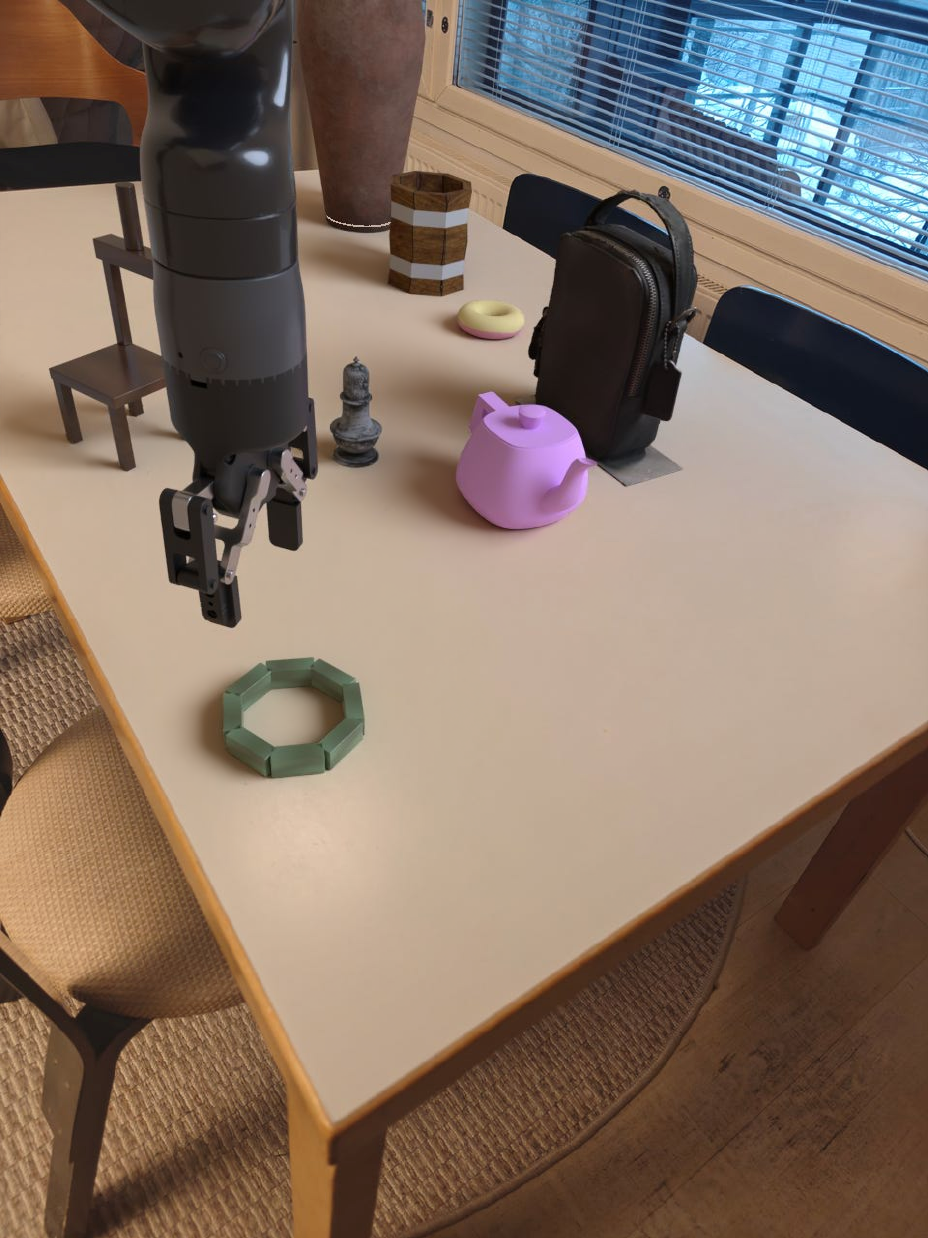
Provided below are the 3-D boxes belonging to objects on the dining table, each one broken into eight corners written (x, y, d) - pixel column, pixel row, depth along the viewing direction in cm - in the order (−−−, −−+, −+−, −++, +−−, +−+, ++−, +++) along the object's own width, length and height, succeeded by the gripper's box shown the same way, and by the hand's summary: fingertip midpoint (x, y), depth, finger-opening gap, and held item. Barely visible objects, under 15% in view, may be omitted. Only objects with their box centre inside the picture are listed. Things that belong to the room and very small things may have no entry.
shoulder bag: (683, 469, 103) (755, 223, 85) (626, 486, 99) (689, 232, 81) (568, 389, 117) (608, 162, 99) (514, 401, 113) (545, 167, 94)
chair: (127, 472, 92) (77, 216, 75) (65, 440, 96) (4, 189, 79) (201, 435, 99) (170, 193, 82) (141, 407, 103) (100, 170, 86)
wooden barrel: (479, 293, 141) (489, 194, 131) (402, 299, 136) (406, 197, 126) (434, 252, 154) (440, 159, 144) (362, 256, 149) (363, 160, 139)
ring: (300, 799, 62) (299, 782, 61) (195, 732, 66) (192, 714, 65) (389, 714, 69) (389, 697, 68) (289, 657, 73) (288, 640, 72)
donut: (518, 357, 128) (518, 323, 134) (527, 330, 125) (527, 297, 131) (453, 341, 127) (456, 308, 133) (460, 313, 123) (463, 280, 129)
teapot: (525, 571, 85) (541, 475, 78) (423, 473, 97) (429, 381, 90) (626, 537, 91) (650, 444, 84) (518, 448, 103) (531, 361, 96)
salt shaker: (348, 474, 96) (348, 373, 88) (320, 450, 99) (317, 351, 91) (391, 459, 99) (395, 361, 91) (362, 437, 102) (363, 340, 94)
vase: (395, 196, 177) (404, -85, 148) (429, 239, 159) (448, -72, 129) (291, 195, 171) (279, -97, 142) (314, 240, 153) (305, -86, 123)
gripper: (237, 285, 51) (256, 512, 62) (88, 381, 41) (142, 634, 51) (353, 310, 50) (353, 537, 61) (230, 416, 39) (256, 668, 50)
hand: (256, 581), depth 56 cm, fingers open, 8 cm apart
